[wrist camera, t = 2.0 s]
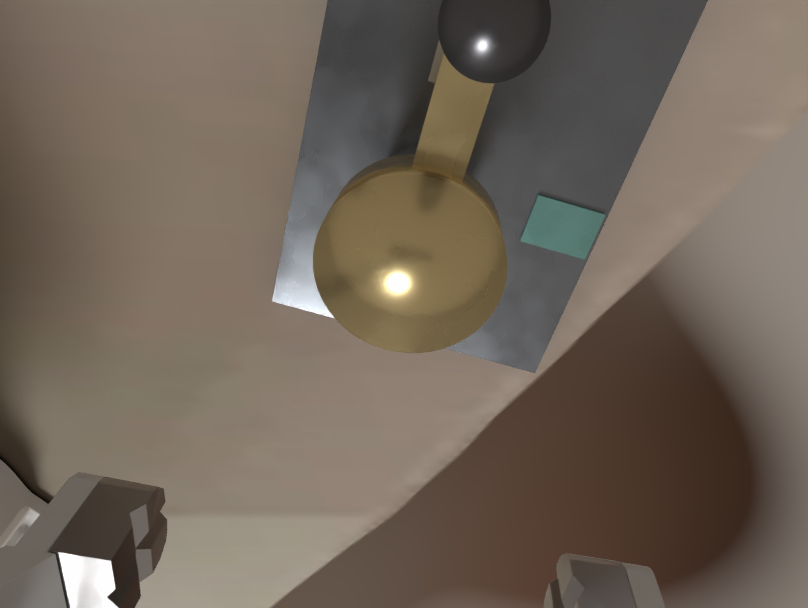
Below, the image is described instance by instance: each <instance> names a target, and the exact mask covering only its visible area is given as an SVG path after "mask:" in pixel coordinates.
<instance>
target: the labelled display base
mask: <svg viewBox="0 0 808 608" xmlns="http://www.w3.org/2000/svg"><path fill="white" fill-rule="evenodd" d="M707 1H708V0H549V3H550V8H551V26H550V32H549V36H548V39H547V42H546V44H545V47H544V49H543V50H542V52H541V54H540V55H539V57H538V58H537V60H536V61H535V62H534V63H533V64H532V65H531V66H530V67H529V68H528V69H527V70H526V71H525V72H523V73H522V74H520V75H519V76H517V77H515V78H513V79H510V80H507V81H504V82H500V83H494V86H493V89H492V92H491V95H490V99H489V102H488V105H487V108H486V111H485V114H484V117H483V120H482V123H481V126H480V129H479V132H478V135H477V138H476V141H475V144H474V147H473V151H472V154H471V157H470V160H469V163H468V166H467V169H466V171H467V172H468V173H470V174H471V175H472V176H473V177H474V178H475V179H476V180H478V181H479V182H480V183H481V185H482V186H483V187H484V188H485V190H486V191H487V192H488V194H489V195H490V197H491V199H492V200H493V202H494V204H495V207H496V209H497V211H498V215H499V218H500V222H501V227H502V232H503V238H504V243H505V248H506V255H507V278H506V284H505V288H504V291H503V294H502V297H501V299H500V301H499V304H498V306H497V308H496V309H495V311H494V312H493V314H492V315H491V317H490V318H489V319H488V320H487V321H486V322H485V323H484V324H483V326H481V327H480V328H479V329H478V330H477V331H476V332H475V333H473V334H472V335H470V336H469V337H467V338H466V339H464V340H462V341H460V342H458V343H456V344H454V345H452V346H449V347H446V348H445V349H449V350H452V351H456V352H460V353H463V354H467V355H471V356H474V357H478V358H482V359H485V360H489V361H493V362H496V363H500V364H504V365H507V366H511V367H515V368H518V369H522V370H526V371H529V372H533V373H535V372H536V370H537V367H538V365H539V363H540V361H541V359H542V357H543V354H544V352H545V350H546V348H547V346H548V344H549V342H550V339H551V337H552V335H553V333H554V331H555V329H556V326H557V324H558V322H559V320H560V318H561V316H562V314H563V311H564V309H565V307H566V305H567V303H568V301H569V298H570V296H571V294H572V292H573V290H574V288H575V286H576V283H577V281H578V279H579V277H580V275H581V273H582V270H583V268H584V266H585V264H586V262H587V260H588V258H589V255H590V253H591V251H592V249H593V247H594V245H595V242H596V240H597V238H598V236H599V234H600V232H601V230H602V227H603V225H604V223H605V221H606V219H607V217H608V214H609V212H610V210H611V208H612V206H613V204H614V202H615V199H616V197H617V195H618V193H619V191H620V189H621V186H622V184H623V182H624V180H625V178H626V176H627V174H628V171H629V169H630V167H631V165H632V163H633V161H634V158H635V156H636V154H637V152H638V150H639V148H640V146H641V143H642V141H643V139H644V137H645V135H646V133H647V130H648V128H649V126H650V124H651V122H652V120H653V118H654V115H655V113H656V111H657V109H658V107H659V105H660V102H661V100H662V98H663V96H664V94H665V92H666V90H667V87H668V85H669V83H670V81H671V79H672V77H673V74H674V72H675V70H676V68H677V66H678V64H679V62H680V59H681V57H682V55H683V53H684V51H685V49H686V46H687V44H688V42H689V40H690V38H691V36H692V33H693V31H694V29H695V27H696V25H697V23H698V21H699V18H700V16H701V14H702V12H703V10H704V8H705V5H706V3H707ZM441 3H442V0H328V2H327V8H326V13H325V18H324V24H323V29H322V35H321V40H320V46H319V51H318V56H317V62H316V67H315V73H314V78H313V83H312V89H311V94H310V100H309V105H308V111H307V116H306V121H305V127H304V132H303V138H302V143H301V149H300V154H299V159H298V165H297V170H296V176H295V181H294V187H293V192H292V197H291V203H290V208H289V214H288V219H287V225H286V230H285V235H284V241H283V246H282V252H281V257H280V262H279V268H278V273H277V279H276V284H275V290H274V295H273V300H272V301H274V302H277V303H281V304H284V305H288V306H292V307H295V308H299V309H303V310H306V311H310V312H314V313H317V314H321V315H325V316H328V317H332V318H334V317H333V315H332V314H331V313H330V312H329V310H328V309H327V307H326V305H325V304H324V302H323V300H322V298H321V296H320V294H319V292H318V289H317V286H316V282H315V279H314V272H313V250H314V244H315V240H316V237H317V233H318V231H319V229H320V227H321V224H322V222H323V220H324V219H325V217H326V215H327V214H328V212H329V210H330V208H331V207H332V205H333V203H334V201H335V200H336V198H337V196H338V195H339V193H340V192H341V190H342V189H343V187H344V186H345V185H346V184H347V183H348V181H349V180H350V179H351V178H352V177H354V176H355V175H356V174H357V173H358V172H359V171H361V170H362V169H364V168H366V167H367V166H369V165H371V164H373V163H375V162H377V161H379V160H382V159H385V158H388V157H392V156H398V155H405V154H415V153H416V149H417V146H418V142H419V139H420V135H421V132H422V128H423V124H424V121H425V117H426V114H427V110H428V107H429V103H430V99H431V96H432V92H433V89H434V85H435V82H436V78H437V75H438V71H439V67H440V64H441V60H442V57H443V53H444V52H443V50H442V47H441V44H440V40H439V35H438V15H439V10H440V6H441Z"/></svg>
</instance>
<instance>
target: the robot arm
mask: <svg viewBox="0 0 808 608" xmlns="http://www.w3.org/2000/svg"><path fill="white" fill-rule="evenodd" d="M164 504H165V494H164V489H163V488H160V487H156V486H151V485H146V484H141V483H135V482H130V481H125V480H120V479H115V478H110V477H103V476H98V475H92V474H87V473H81V472H78V473H77V474H75V475H74V476H72V477H70V478H69V479H68V480H67V482H66V483H65V484H64V485H63V487H62V488H61V489H60V490H59V492H58V493H57V494H56V495H55V497H54V498H53V499H52V500H51V502H50V503H49V504H47V503H46V502H45V501H43V500H42V499H40V498H39V497H37V496H36V495H34V494H33V493H32V492H31V491H29V490H28V488H27V487H26V486H25V485H24V484H23V483H22V482H21V480H20V479H19V478H18V477H17V476H16V474H15V473H14V472H13V471H12V470H11V469H10V468H9V467H8V466H7V465H6V464H5V463H4V462H3V461H2V460H0V608H135V606H136V604H137V603H138V601H139V599H140V597H141V593H140V583H139V582H141V581H142V580H144V579H145V578H147V577H148V576H150V575H151V574H152V573H153V572H154V570H155V568H156V566H157V564H158V562H159V560H160V558H161V555H162V552H163V549H164V546H165V543H166V536H167V519H166V518H165V517H164V516H163V514H162V513H161V512H160V511H161V509H162V507H163V505H164ZM556 567H557V574H558V578H557V579H556V580H554V581H552V582H550V584H549V587H548V590H547V592H546V595H545V602H544V608H665V605H664V602H663V599H662V596H661V593H660V590H659V587H658V585H657V582H656V578H655V576H654V573H653V571H652V570H651V569H650V568H649V567H646V566H640V565H634V564H628V563H622V562H620V563H619V562H617V561H612V560H606V559H598V558H592V557H585V556H579V555H573V554H566V553H565V554H563V555H562V556H561V557H560V559H559V561H558V564H557V566H556Z"/></svg>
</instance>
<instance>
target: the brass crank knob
mask: <svg viewBox="0 0 808 608" xmlns="http://www.w3.org/2000/svg"><path fill="white" fill-rule="evenodd" d="M550 26H551V8H550V3H549V0H442V3H441V6H440V10H439V15H438V35H439V40H440V44H441V47H442V50H443V52H444V53H443V57H442V60H441V64H440V67H439V71H438V75H437V78H436V82H435V85H434V89H433V92H432V96H431V99H430V103H429V107H428V110H427V114H426V117H425V121H424V124H423V128H422V132H421V135H420V139H419V142H418V146H417V149H416V153H415V154H405V155H398V156H392V157H388V158H385V159H382V160H379V161H377V162H375V163H373V164H371V165H369V166H367V167H366V168H364V169H362V170H361V171H359V172H358V173H357V174H356V175H355V176H354V177H352V178H351V179H350V180H349V181H348V183H347V184H346V185H345V186H344V187H343V189H342V190H341V192H340V193H339V195H338V196H337V198H336V200H335V201H334V203H333V205H332V207H331V208H330V210H329V212H328V214H327V215H326V217H325V219H324V220H323V222H322V224H321V227H320V229H319V231H318V233H317V237H316V240H315V244H314V250H313V272H314V279H315V282H316V286H317V289H318V292H319V294H320V296H321V298H322V300H323V302H324V304H325V305H326V307H327V309H328V310H329V312H330V313H331V314H332V315H333V317H334V318H335V319H336V320H337V321H338V322H339V323H340V324H341V325H342V326H343V327H344V328H345V329H347V330H348V331H349V332H350V333H352V334H353V335H355V336H356V337H358V338H360V339H361V340H363V341H365V342H367V343H369V344H371V345H374V346H377V347H380V348H383V349H386V350H391V351H395V352H404V353H423V352H431V351H435V350H440V349H444V348H446V347H449V346H452V345H454V344H456V343H458V342H460V341H462V340H464V339H466V338H467V337H469V336H470V335H472V334H473V333H475V332H476V331H477V330H478V329H479V328H480V327H481V326H483V324H484V323H485V322H486V321H487V320H488V319H489V318H490V317H491V315H492V314H493V312H494V311H495V309H496V308H497V306H498V304H499V301H500V299H501V297H502V294H503V291H504V288H505V284H506V278H507V255H506V248H505V243H504V238H503V232H502V227H501V222H500V218H499V215H498V211H497V209H496V207H495V204H494V202H493V200H492V199H491V197H490V195H489V194H488V192H487V191H486V190H485V188H484V187H483V186H482V185H481V183H480V182H479V181H478V180H476V179H475V178H474V177H473V176H472V175H471V174H470V173H468V172H467V171H466V169H467V166H468V163H469V160H470V157H471V154H472V151H473V147H474V144H475V141H476V138H477V135H478V132H479V129H480V126H481V123H482V120H483V117H484V114H485V111H486V108H487V105H488V102H489V99H490V95H491V92H492V89H493V86H494V83H500V82H504V81H507V80H510V79H513V78H515V77H517V76H519V75H520V74H522V73H523V72H525V71H526V70H527V69H528V68H529V67H530V66H531V65H532V64H533V63H534V62H535V61H536V60H537V58H538V57H539V55H540V54H541V52H542V50H543V49H544V47H545V44H546V42H547V39H548V36H549V32H550Z"/></svg>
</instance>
